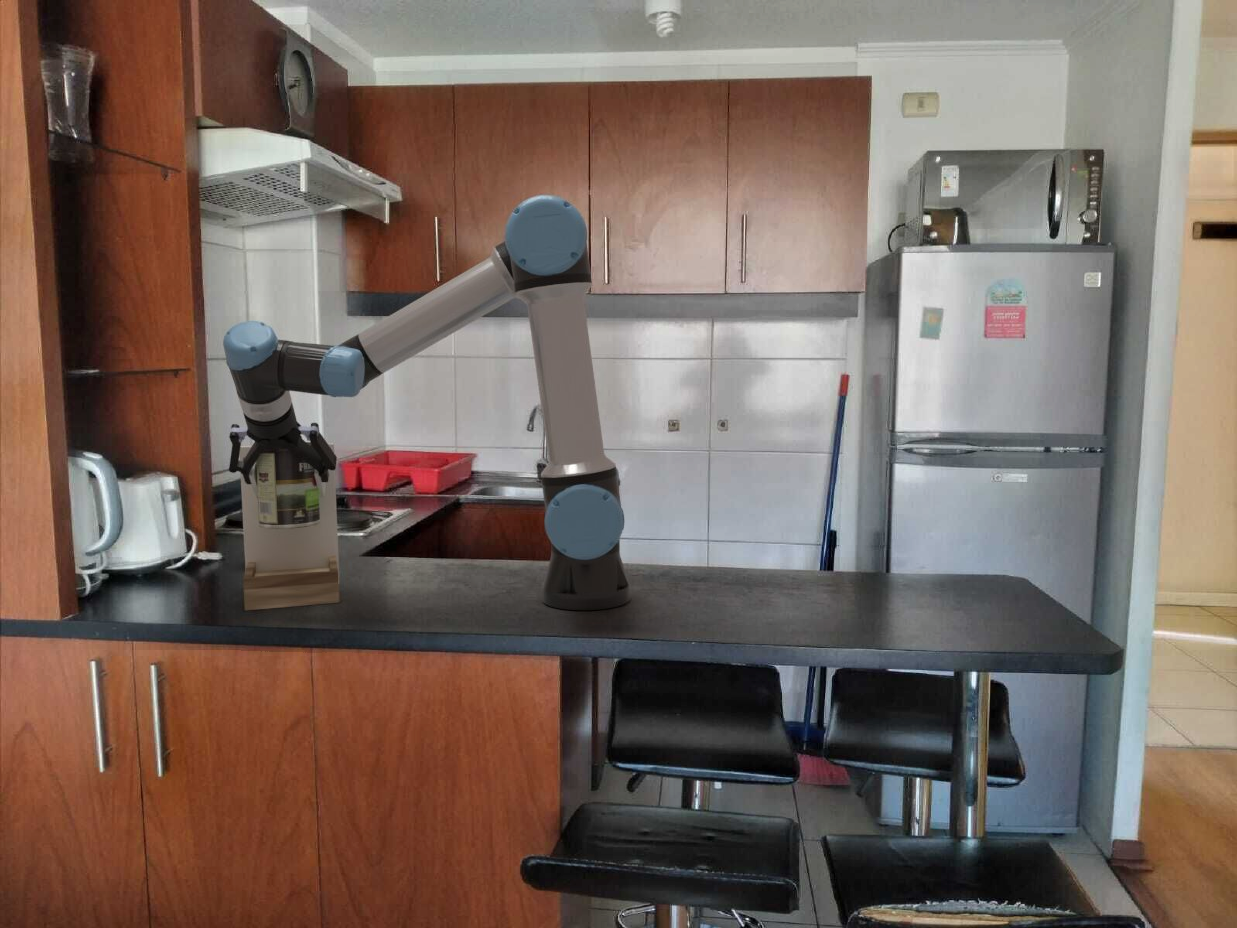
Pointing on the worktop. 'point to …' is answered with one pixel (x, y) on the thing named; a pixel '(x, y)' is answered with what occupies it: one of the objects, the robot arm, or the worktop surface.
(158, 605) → the worktop surface
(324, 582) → the shelf
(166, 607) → the worktop surface
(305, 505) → the coffee can
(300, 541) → the beige flat upright panel
